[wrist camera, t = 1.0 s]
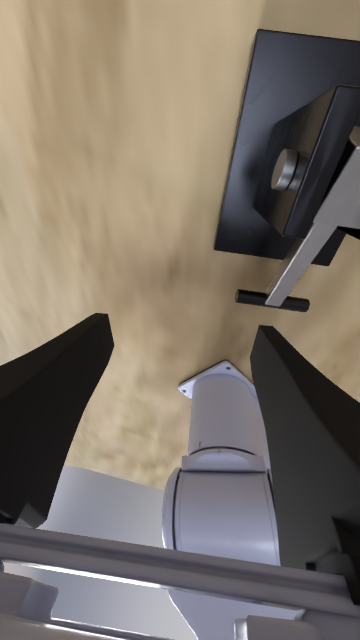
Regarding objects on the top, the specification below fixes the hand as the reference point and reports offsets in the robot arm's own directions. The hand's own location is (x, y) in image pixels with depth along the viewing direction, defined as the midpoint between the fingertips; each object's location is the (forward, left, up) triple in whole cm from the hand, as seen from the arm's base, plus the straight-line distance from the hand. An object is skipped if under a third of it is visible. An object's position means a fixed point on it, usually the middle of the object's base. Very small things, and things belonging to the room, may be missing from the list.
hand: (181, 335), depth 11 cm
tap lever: (-2, -7, -6) cm, 9 cm away
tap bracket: (0, -9, -10) cm, 14 cm away
